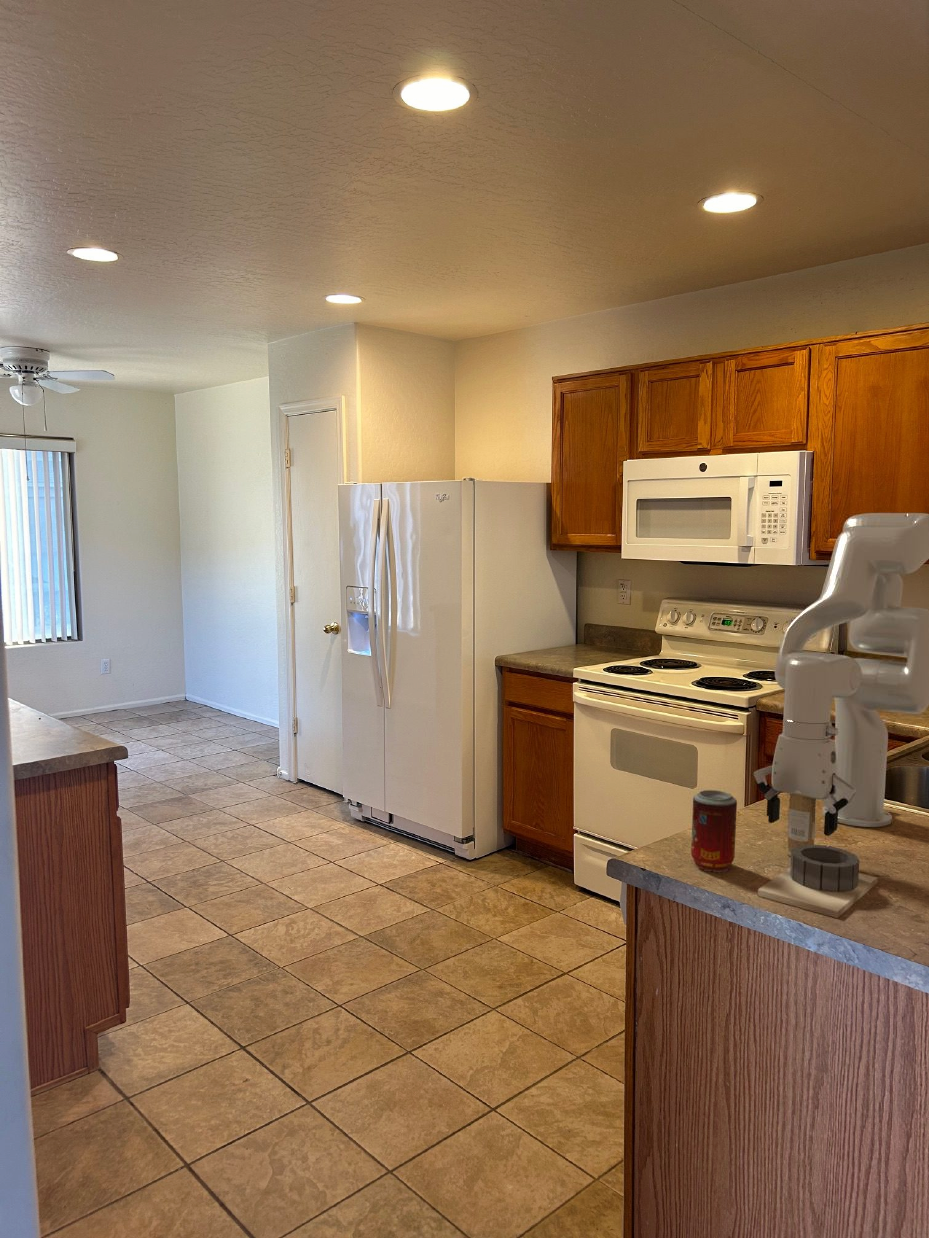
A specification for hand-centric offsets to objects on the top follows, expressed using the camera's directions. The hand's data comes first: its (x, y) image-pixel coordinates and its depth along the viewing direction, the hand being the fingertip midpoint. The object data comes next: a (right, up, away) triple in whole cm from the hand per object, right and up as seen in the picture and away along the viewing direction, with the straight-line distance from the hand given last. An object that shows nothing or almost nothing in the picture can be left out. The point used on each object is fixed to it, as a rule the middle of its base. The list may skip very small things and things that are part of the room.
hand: (800, 827), depth 157 cm
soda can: (-17, -6, -5) cm, 18 cm away
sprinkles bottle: (0, -5, +1) cm, 5 cm away
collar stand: (-3, -6, -14) cm, 16 cm away
